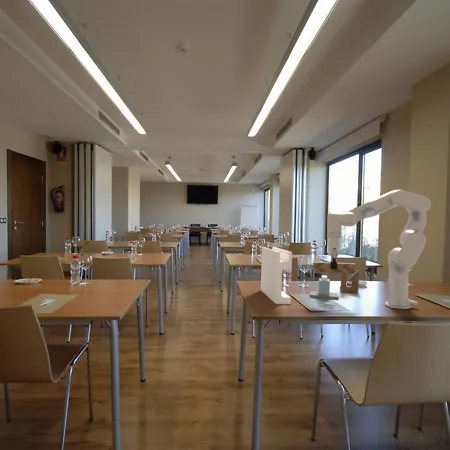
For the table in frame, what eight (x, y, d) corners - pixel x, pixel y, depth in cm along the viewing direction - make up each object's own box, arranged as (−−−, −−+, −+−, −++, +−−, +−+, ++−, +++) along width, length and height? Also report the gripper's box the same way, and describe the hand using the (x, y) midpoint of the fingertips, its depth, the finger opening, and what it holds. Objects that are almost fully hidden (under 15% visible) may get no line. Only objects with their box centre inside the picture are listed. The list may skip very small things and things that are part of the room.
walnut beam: (354, 272, 187) (354, 263, 187) (355, 273, 183) (355, 264, 183) (312, 270, 193) (313, 261, 193) (312, 271, 189) (313, 262, 189)
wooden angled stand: (358, 293, 216) (359, 264, 216) (340, 292, 218) (341, 264, 218) (357, 292, 220) (357, 264, 220) (339, 291, 222) (340, 263, 221)
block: (260, 290, 218) (261, 246, 218) (273, 290, 219) (274, 246, 219) (276, 304, 183) (277, 252, 183) (290, 303, 185) (292, 252, 184)
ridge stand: (337, 295, 209) (337, 275, 208) (338, 299, 197) (339, 278, 197) (310, 293, 213) (310, 274, 212) (309, 297, 201) (310, 277, 201)
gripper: (326, 234, 197) (326, 266, 197) (327, 235, 180) (327, 270, 181) (340, 235, 195) (339, 267, 195) (342, 236, 179) (342, 271, 179)
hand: (333, 268), depth 188 cm, fingers closed on walnut beam, 4 cm apart
